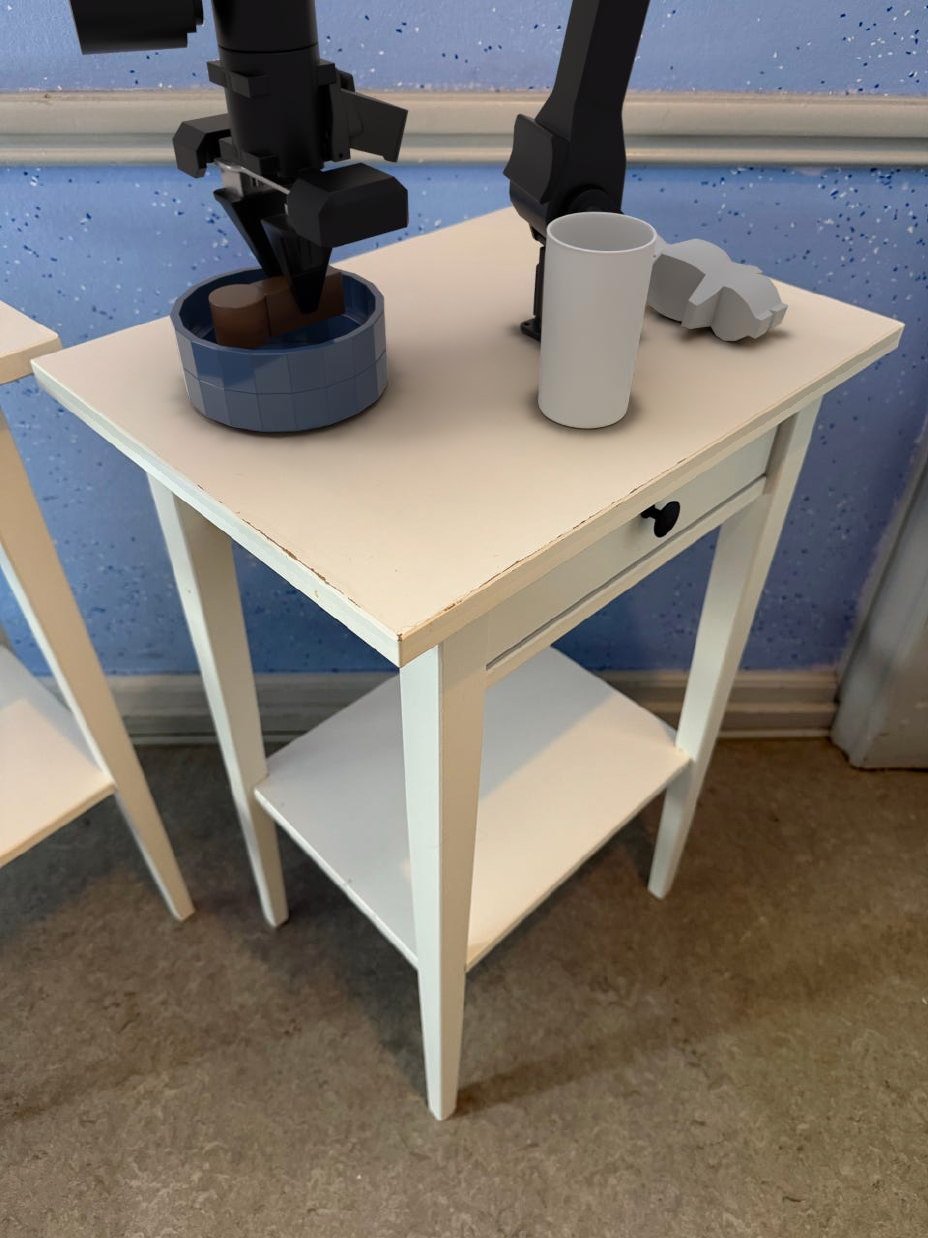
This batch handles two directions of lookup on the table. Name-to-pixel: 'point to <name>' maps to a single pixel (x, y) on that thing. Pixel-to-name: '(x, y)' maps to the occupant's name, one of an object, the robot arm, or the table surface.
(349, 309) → the bowl
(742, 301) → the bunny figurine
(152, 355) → the table surface
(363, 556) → the table surface
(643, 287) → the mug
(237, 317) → the brown round-ended block
